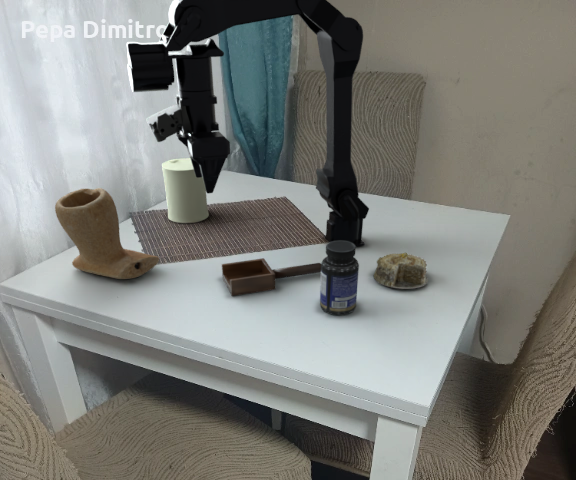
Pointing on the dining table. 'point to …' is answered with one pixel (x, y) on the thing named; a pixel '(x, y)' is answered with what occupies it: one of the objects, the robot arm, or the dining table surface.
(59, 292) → the dining table surface
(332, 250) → the pill bottle
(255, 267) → the scoop
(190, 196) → the can
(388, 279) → the cake
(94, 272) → the clay pipe bowl
